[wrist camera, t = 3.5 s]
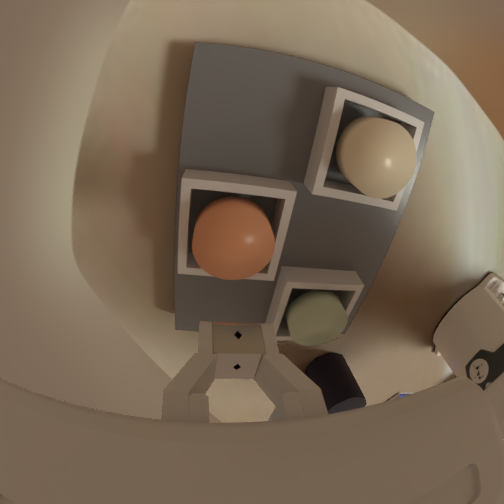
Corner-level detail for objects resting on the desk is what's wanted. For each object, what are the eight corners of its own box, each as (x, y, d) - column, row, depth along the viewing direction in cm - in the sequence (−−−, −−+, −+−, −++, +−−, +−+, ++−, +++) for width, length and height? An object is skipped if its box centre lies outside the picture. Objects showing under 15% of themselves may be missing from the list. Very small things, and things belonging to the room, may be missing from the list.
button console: (419, 108, 17) (450, 116, 14) (339, 320, 30) (350, 347, 26) (198, 47, 14) (192, 35, 11) (177, 314, 27) (173, 345, 23)
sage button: (348, 290, 22) (356, 306, 21) (328, 329, 25) (334, 345, 23) (294, 288, 21) (300, 305, 20) (279, 329, 24) (283, 346, 22)
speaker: (318, 384, 38) (337, 439, 29) (290, 377, 36) (306, 438, 27) (352, 353, 35) (379, 410, 26) (324, 343, 33) (351, 407, 24)
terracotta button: (276, 201, 17) (282, 214, 16) (262, 264, 20) (266, 282, 18) (197, 192, 16) (194, 205, 15) (192, 259, 19) (190, 276, 17)
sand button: (407, 129, 15) (424, 135, 13) (387, 193, 18) (402, 204, 16) (346, 106, 14) (360, 109, 12) (327, 179, 17) (339, 190, 15)
